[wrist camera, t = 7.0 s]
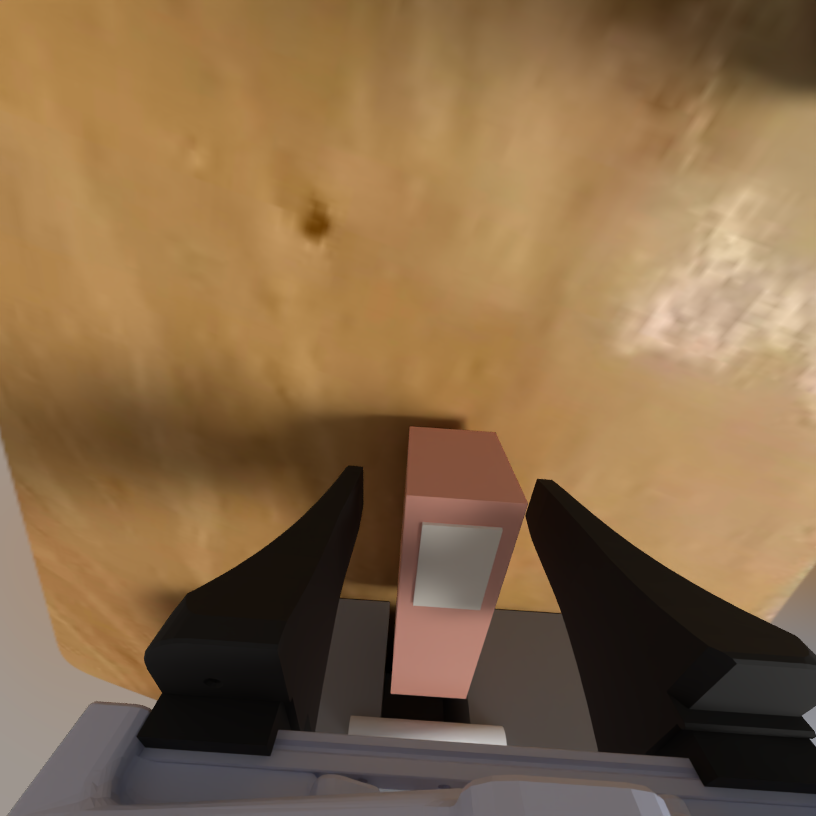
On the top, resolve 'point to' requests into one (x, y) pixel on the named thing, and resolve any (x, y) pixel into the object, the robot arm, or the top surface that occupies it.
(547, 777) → the robot arm
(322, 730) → the dispenser
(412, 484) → the pink labelled block
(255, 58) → the top surface
